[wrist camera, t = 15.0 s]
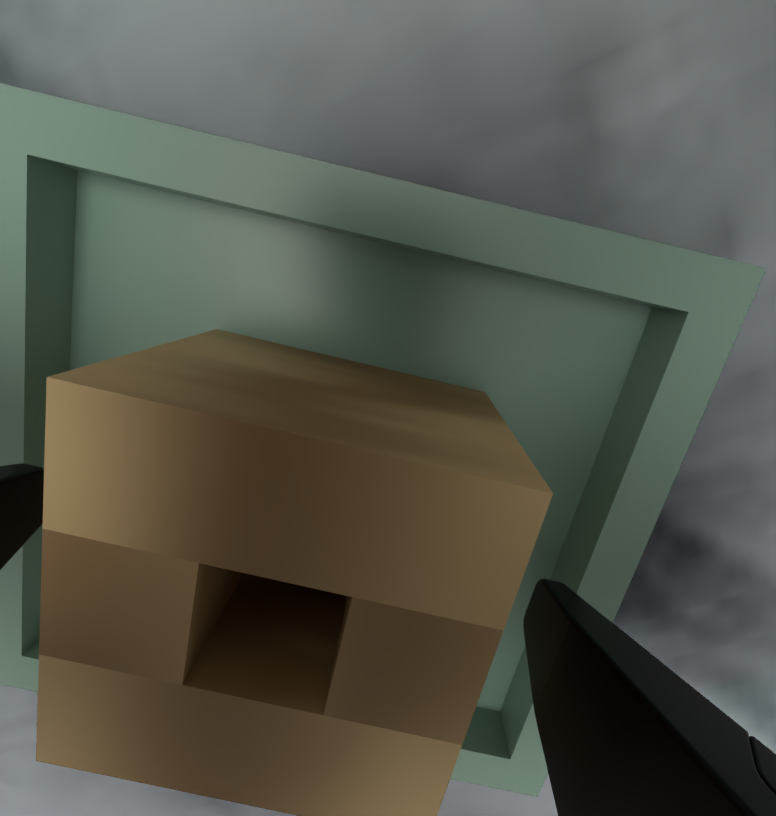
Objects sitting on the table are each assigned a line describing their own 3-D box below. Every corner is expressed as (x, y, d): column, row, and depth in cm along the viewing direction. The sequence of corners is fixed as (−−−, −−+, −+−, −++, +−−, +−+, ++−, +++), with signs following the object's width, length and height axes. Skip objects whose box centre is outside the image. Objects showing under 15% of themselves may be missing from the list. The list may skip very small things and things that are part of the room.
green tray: (703, 269, 10) (766, 268, 8) (520, 729, 14) (537, 796, 12) (47, 111, 10) (-32, 75, 8) (36, 626, 13) (-20, 680, 11)
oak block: (484, 391, 10) (552, 493, 6) (419, 614, 12) (426, 842, 7) (216, 329, 10) (46, 376, 5) (186, 563, 12) (35, 760, 7)
